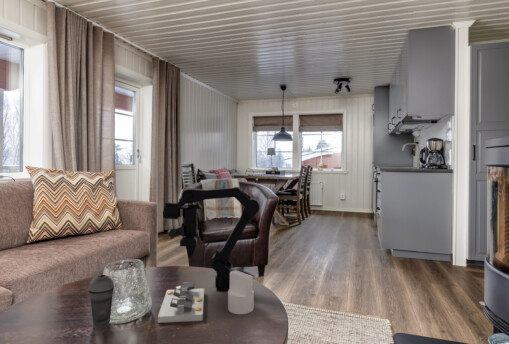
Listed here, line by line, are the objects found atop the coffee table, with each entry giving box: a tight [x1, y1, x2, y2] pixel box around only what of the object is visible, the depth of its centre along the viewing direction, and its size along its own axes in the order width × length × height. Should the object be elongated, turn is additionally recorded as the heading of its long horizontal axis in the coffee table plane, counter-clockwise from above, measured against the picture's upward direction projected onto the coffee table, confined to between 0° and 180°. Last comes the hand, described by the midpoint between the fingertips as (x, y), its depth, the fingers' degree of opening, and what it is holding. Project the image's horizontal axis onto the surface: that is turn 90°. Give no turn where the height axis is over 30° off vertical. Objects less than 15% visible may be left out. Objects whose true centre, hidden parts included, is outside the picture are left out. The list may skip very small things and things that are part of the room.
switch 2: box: [173, 287, 193, 302], centre depth 112 cm, size 7×4×1 cm, turn 99°
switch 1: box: [175, 282, 196, 290], centre depth 119 cm, size 7×4×1 cm, turn 97°
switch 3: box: [170, 298, 193, 311], centre depth 105 cm, size 7×4×1 cm, turn 98°
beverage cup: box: [88, 260, 115, 330], centre depth 98 cm, size 7×7×20 cm
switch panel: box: [157, 282, 205, 324], centre depth 112 cm, size 14×21×5 cm, turn 8°
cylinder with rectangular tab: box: [227, 270, 255, 315], centre depth 111 cm, size 9×9×12 cm
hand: (189, 258), depth 128 cm, fingers closed
